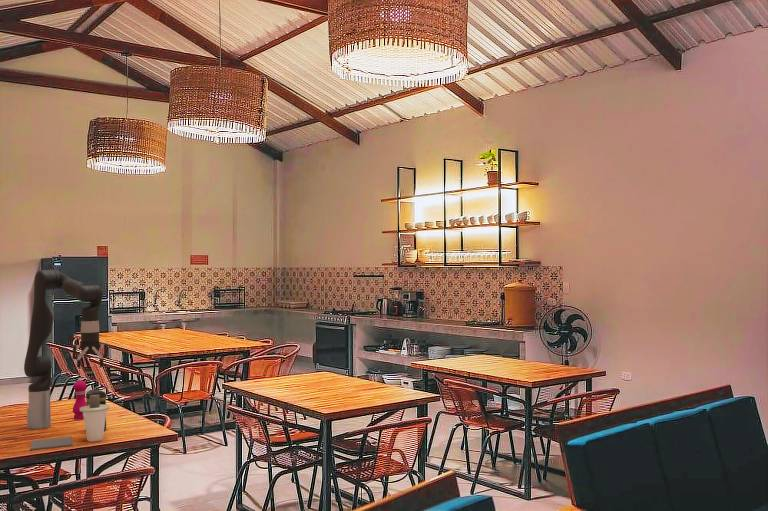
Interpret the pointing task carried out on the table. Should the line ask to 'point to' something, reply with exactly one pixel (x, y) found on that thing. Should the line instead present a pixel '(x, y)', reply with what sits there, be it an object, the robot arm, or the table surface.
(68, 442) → the mat
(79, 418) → the pepper mill
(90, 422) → the foam cup
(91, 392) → the coffee jar
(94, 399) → the lid
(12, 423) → the table surface
